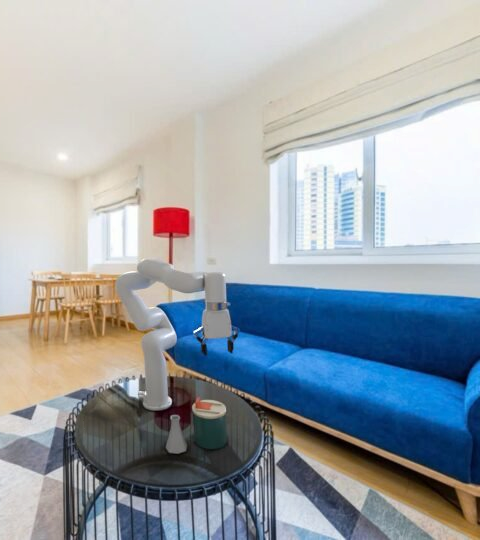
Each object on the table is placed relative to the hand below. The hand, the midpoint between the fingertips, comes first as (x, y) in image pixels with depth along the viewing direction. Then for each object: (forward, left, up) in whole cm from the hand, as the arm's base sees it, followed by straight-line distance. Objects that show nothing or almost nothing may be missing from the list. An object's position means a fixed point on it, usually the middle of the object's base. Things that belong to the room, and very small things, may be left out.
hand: (217, 353), depth 105 cm
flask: (-12, -16, -27) cm, 34 cm away
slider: (-4, -8, -16) cm, 19 cm away
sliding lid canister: (-2, -8, -27) cm, 28 cm away
